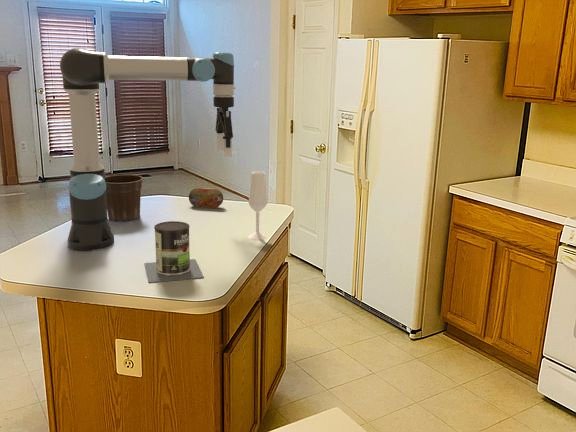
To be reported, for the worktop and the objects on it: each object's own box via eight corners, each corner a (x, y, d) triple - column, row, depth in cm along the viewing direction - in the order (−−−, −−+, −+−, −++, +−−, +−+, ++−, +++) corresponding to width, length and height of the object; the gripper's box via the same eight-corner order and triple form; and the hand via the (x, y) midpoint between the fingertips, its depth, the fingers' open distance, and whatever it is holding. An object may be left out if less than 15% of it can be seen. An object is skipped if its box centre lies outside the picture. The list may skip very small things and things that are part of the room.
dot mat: (148, 283, 165) (148, 282, 165) (144, 264, 180) (144, 263, 180) (203, 278, 170) (203, 276, 170) (195, 259, 185) (195, 258, 185)
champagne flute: (263, 240, 206) (264, 175, 199) (246, 238, 207) (246, 173, 201) (268, 235, 212) (269, 171, 205) (251, 233, 213) (251, 170, 207)
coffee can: (197, 268, 177) (196, 224, 173) (174, 278, 168) (172, 232, 164) (172, 261, 182) (171, 218, 178) (148, 271, 173) (146, 226, 170)
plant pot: (94, 221, 223) (91, 181, 219) (115, 211, 238) (113, 173, 234) (132, 225, 220) (130, 184, 215) (151, 214, 235) (150, 175, 231)
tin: (188, 206, 248) (188, 187, 246) (191, 204, 251) (190, 186, 249) (222, 209, 246) (222, 190, 244) (224, 207, 249) (224, 188, 247)
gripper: (241, 98, 200) (241, 158, 206) (226, 93, 223) (226, 147, 229) (220, 98, 198) (220, 159, 204) (207, 93, 221) (208, 148, 227)
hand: (223, 153), depth 216 cm, fingers open, 13 cm apart
